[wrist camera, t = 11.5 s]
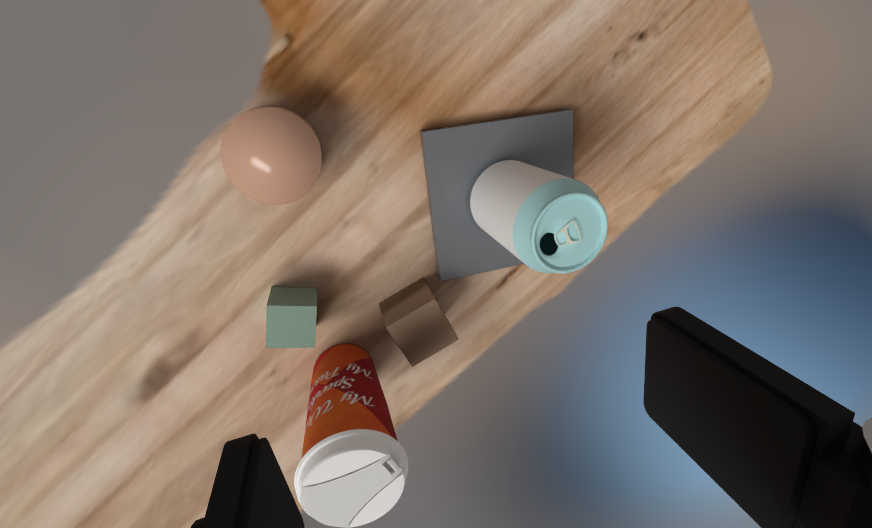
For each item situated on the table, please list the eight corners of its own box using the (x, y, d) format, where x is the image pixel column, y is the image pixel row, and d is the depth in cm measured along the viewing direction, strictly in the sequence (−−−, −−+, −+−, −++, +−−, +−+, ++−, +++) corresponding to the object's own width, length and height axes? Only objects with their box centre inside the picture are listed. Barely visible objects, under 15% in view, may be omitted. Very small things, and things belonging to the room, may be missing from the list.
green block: (271, 286, 39) (266, 305, 36) (317, 287, 40) (317, 306, 37) (271, 325, 41) (266, 347, 37) (315, 325, 42) (314, 347, 38)
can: (515, 244, 42) (582, 295, 32) (454, 216, 40) (505, 261, 29) (551, 178, 41) (635, 208, 30) (490, 145, 38) (558, 165, 27)
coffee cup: (356, 318, 42) (373, 423, 29) (398, 374, 46) (431, 491, 32) (282, 364, 42) (265, 491, 29) (331, 416, 46) (335, 551, 32)
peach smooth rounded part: (219, 112, 33) (207, 114, 30) (311, 100, 35) (310, 101, 31) (245, 200, 36) (237, 212, 33) (329, 186, 37) (330, 196, 34)
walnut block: (378, 303, 42) (385, 327, 38) (422, 277, 43) (434, 298, 38) (403, 339, 45) (412, 366, 40) (444, 314, 45) (458, 339, 40)
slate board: (419, 130, 37) (422, 131, 36) (566, 109, 40) (573, 109, 39) (438, 276, 43) (441, 281, 42) (566, 249, 45) (572, 253, 44)
